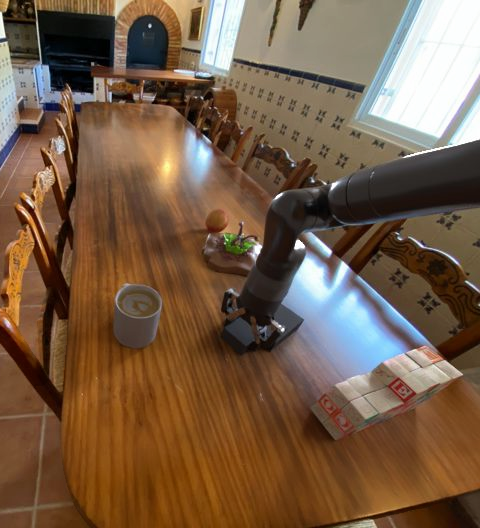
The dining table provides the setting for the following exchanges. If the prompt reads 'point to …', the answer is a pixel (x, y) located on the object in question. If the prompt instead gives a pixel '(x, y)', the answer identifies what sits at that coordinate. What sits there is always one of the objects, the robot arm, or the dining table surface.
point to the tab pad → (238, 335)
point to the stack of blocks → (383, 392)
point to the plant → (231, 252)
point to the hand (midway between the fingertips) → (239, 338)
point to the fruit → (216, 221)
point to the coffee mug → (136, 315)
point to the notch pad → (282, 318)
